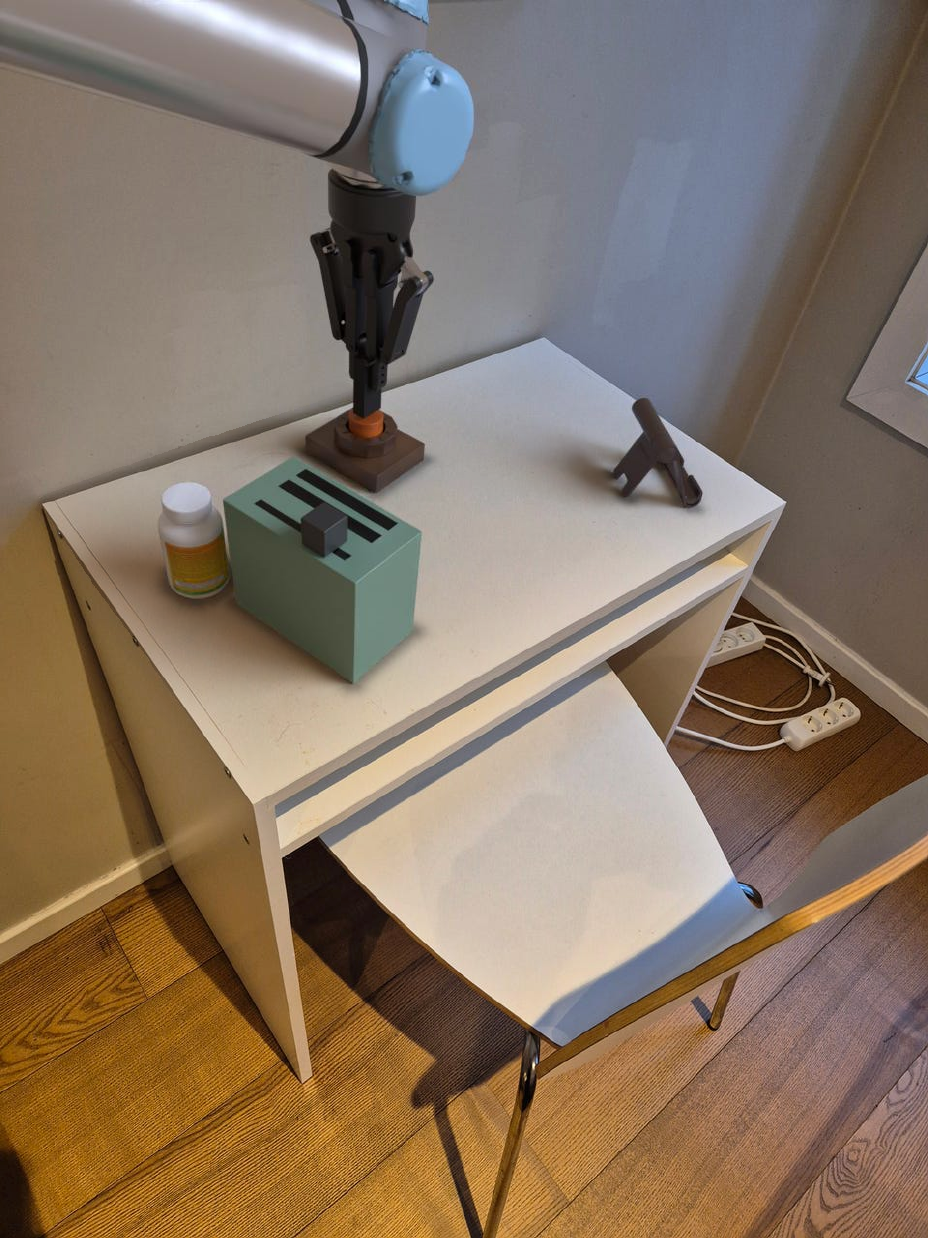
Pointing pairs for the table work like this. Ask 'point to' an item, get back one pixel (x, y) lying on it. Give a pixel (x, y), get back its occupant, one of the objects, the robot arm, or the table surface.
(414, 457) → the button block
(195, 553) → the supplement bottle
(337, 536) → the slider
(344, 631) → the toaster
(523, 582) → the table surface
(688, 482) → the tablet stand
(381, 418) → the button
